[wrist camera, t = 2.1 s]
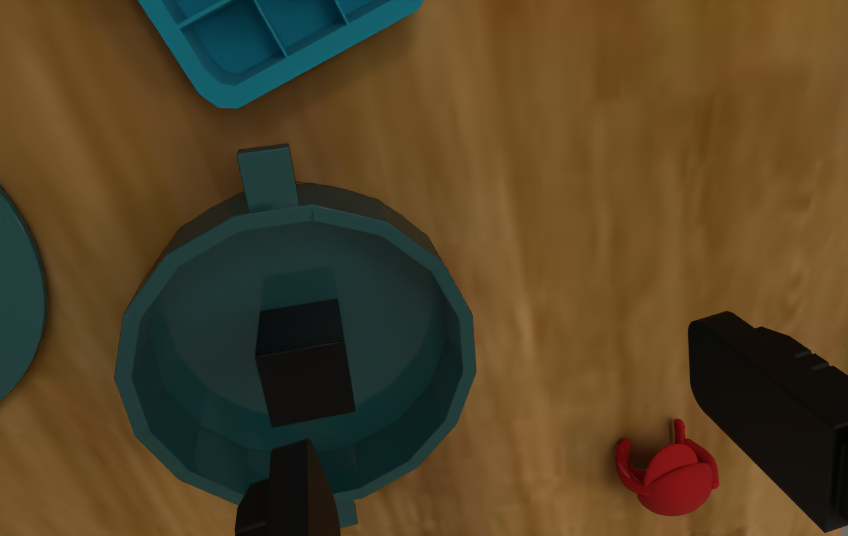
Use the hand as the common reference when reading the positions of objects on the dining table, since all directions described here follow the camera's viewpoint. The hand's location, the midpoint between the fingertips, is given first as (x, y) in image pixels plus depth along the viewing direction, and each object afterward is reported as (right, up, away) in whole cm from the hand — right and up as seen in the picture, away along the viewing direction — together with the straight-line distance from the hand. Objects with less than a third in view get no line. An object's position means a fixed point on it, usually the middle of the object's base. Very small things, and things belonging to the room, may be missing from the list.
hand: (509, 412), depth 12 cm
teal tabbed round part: (-9, -1, +24) cm, 26 cm away
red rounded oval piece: (+15, -10, +33) cm, 38 cm away
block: (-9, -1, +24) cm, 25 cm away
